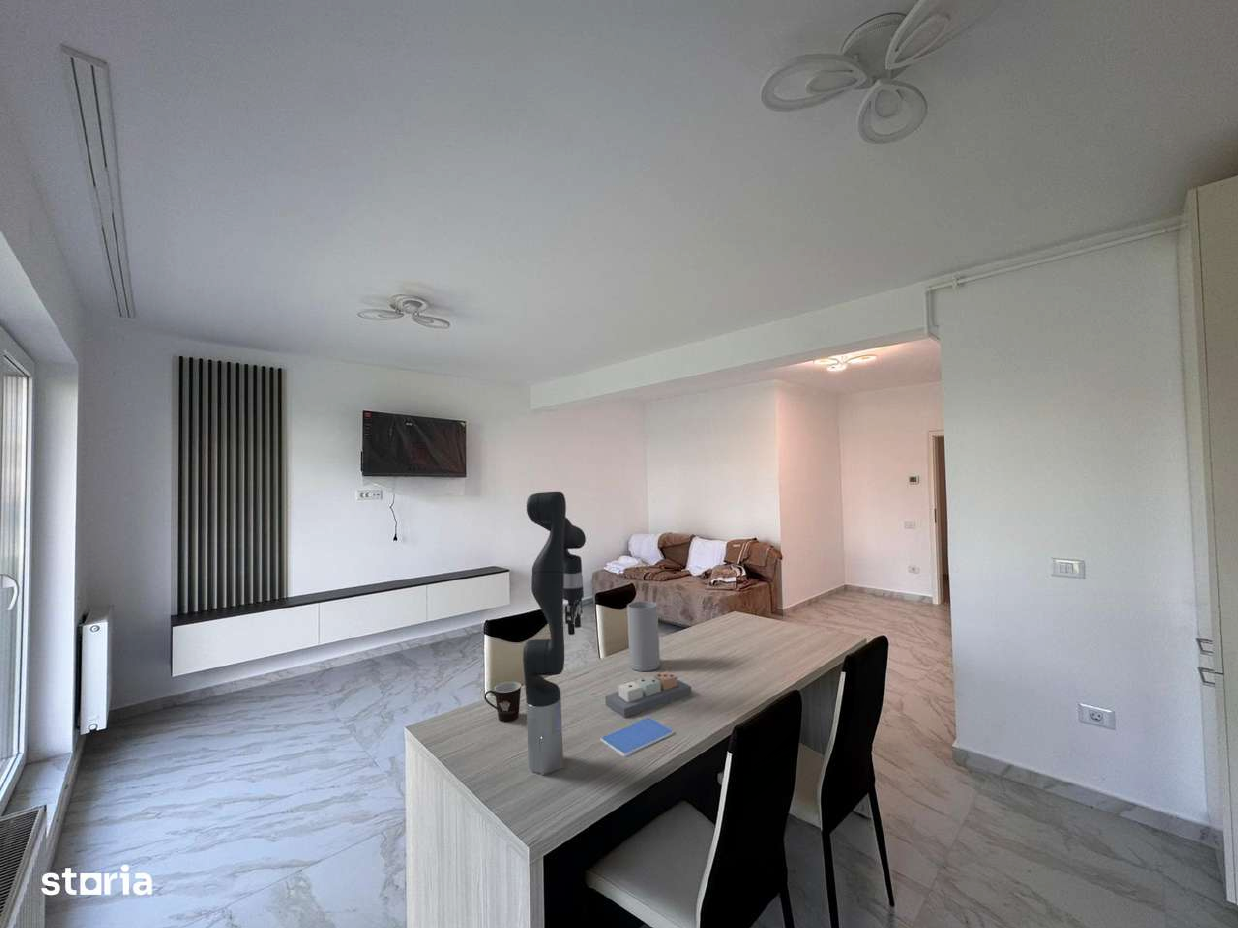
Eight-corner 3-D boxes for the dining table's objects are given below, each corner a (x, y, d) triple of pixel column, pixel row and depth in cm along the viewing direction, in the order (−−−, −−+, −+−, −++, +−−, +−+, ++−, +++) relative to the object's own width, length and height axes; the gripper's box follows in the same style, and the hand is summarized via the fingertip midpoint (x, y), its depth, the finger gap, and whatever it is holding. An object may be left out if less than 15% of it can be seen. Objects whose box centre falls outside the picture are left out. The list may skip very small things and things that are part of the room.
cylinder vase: (660, 660, 205) (657, 601, 206) (659, 671, 193) (656, 608, 194) (631, 660, 206) (628, 601, 208) (628, 672, 194) (625, 609, 195)
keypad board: (691, 694, 170) (690, 686, 170) (624, 718, 155) (624, 708, 155) (670, 684, 180) (670, 675, 180) (605, 704, 166) (605, 695, 166)
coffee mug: (527, 714, 161) (526, 684, 161) (509, 726, 154) (508, 694, 154) (502, 708, 167) (501, 678, 167) (483, 718, 159) (482, 688, 160)
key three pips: (677, 686, 171) (677, 675, 171) (664, 690, 168) (663, 679, 168) (667, 680, 176) (666, 670, 176) (654, 684, 173) (653, 674, 173)
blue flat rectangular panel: (624, 759, 133) (624, 754, 133) (598, 741, 143) (598, 736, 143) (675, 735, 144) (675, 730, 144) (648, 720, 154) (648, 716, 154)
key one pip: (643, 697, 163) (642, 686, 163) (628, 702, 160) (627, 690, 160) (633, 691, 168) (632, 680, 168) (618, 696, 165) (618, 685, 165)
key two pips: (660, 691, 167) (660, 680, 167) (646, 696, 164) (646, 685, 164) (650, 686, 172) (650, 675, 172) (636, 690, 169) (636, 679, 169)
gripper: (577, 589, 165) (579, 637, 164) (587, 580, 179) (589, 625, 178) (556, 589, 166) (558, 637, 166) (568, 581, 180) (570, 625, 180)
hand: (574, 630), depth 172 cm, fingers open, 8 cm apart
